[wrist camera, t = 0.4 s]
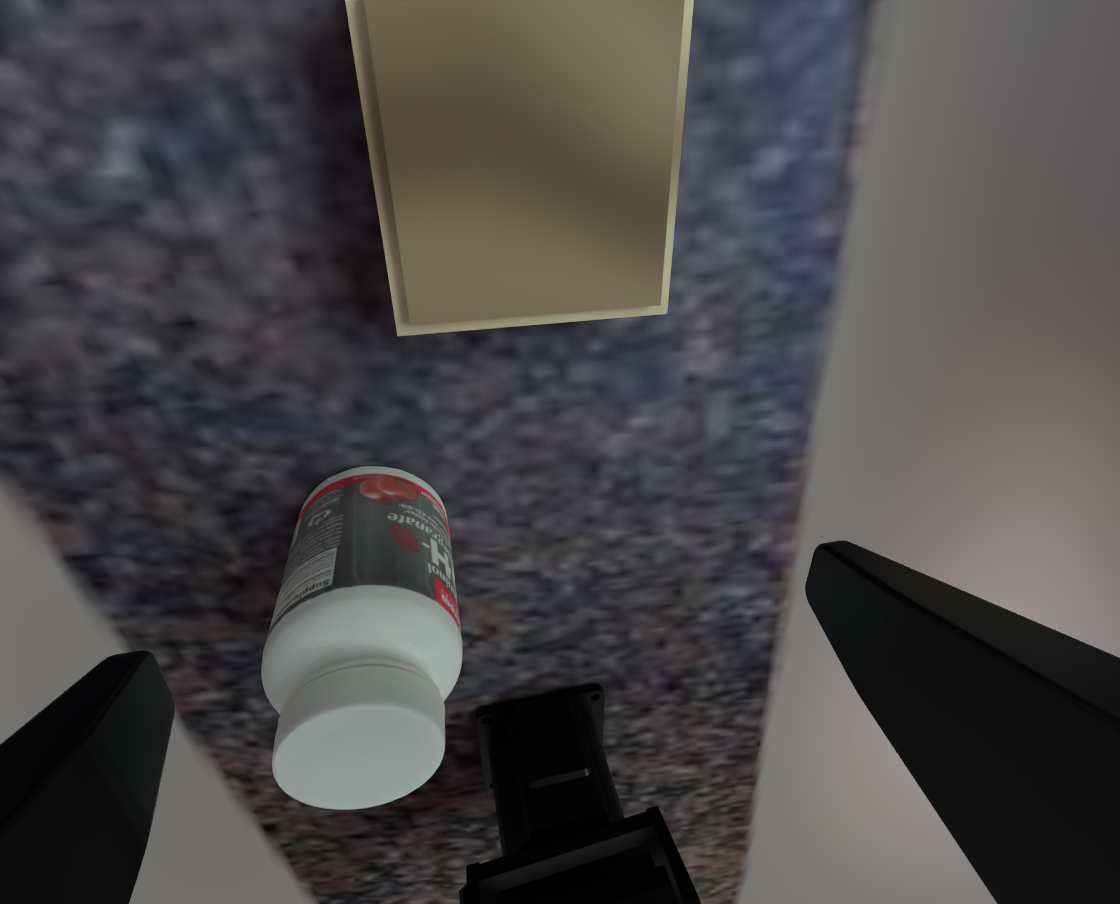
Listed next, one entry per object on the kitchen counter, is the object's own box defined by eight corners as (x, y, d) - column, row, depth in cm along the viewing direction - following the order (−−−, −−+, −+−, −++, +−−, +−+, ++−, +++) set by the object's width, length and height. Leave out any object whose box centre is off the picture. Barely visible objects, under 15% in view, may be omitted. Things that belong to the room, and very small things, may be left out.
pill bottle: (476, 507, 23) (518, 729, 15) (392, 595, 24) (387, 846, 16) (356, 433, 20) (325, 654, 12) (268, 536, 21) (185, 801, 13)
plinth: (637, 291, 20) (672, 317, 17) (398, 309, 18) (397, 340, 16) (654, -3, 16) (702, -24, 13) (349, -11, 14) (338, -37, 12)
